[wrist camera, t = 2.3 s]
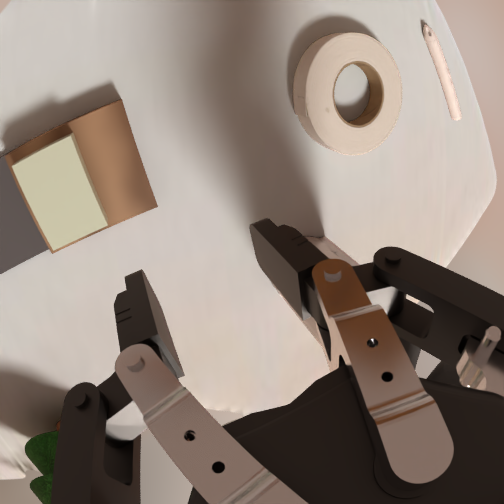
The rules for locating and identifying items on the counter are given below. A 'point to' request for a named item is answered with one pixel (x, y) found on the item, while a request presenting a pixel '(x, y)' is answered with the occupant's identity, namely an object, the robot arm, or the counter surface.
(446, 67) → the marker
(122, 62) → the counter surface
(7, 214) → the mat
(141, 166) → the board
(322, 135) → the roll of tape
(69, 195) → the tile
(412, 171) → the counter surface
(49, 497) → the decorative tree
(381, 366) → the robot arm
